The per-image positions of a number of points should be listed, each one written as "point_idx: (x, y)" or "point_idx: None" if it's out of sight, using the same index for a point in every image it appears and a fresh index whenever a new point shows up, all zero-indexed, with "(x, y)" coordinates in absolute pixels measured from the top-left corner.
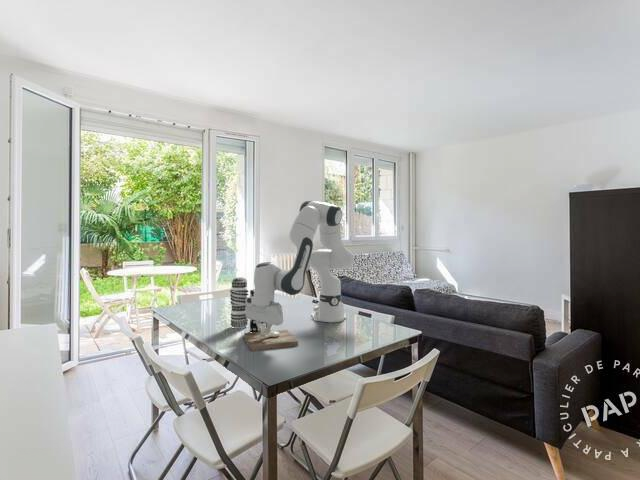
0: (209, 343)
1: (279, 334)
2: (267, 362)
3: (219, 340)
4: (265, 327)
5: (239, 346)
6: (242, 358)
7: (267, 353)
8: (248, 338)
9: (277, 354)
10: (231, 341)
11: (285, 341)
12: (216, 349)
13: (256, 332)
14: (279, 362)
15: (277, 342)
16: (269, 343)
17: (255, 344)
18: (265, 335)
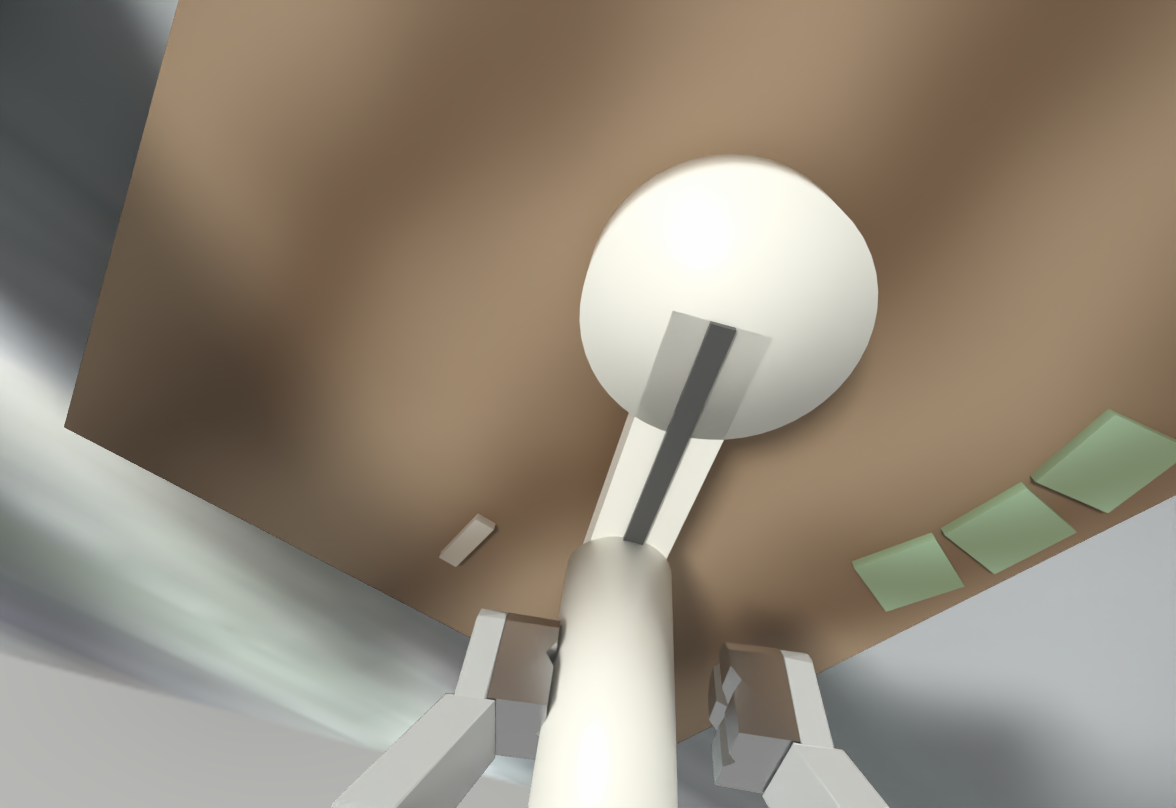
0: (143, 676)
1: (752, 53)
2: (1028, 803)
3: (86, 592)
4: (674, 751)
5: (453, 640)
6: (742, 799)
7: (915, 680)
8: (403, 586)
9: (1065, 668)
10: (210, 566)
11: (1160, 462)
12: (364, 742)
13: (145, 269)
14: (1166, 784)
15: (997, 565)
16: (869, 630)
17: (695, 704)
18: (669, 570)
